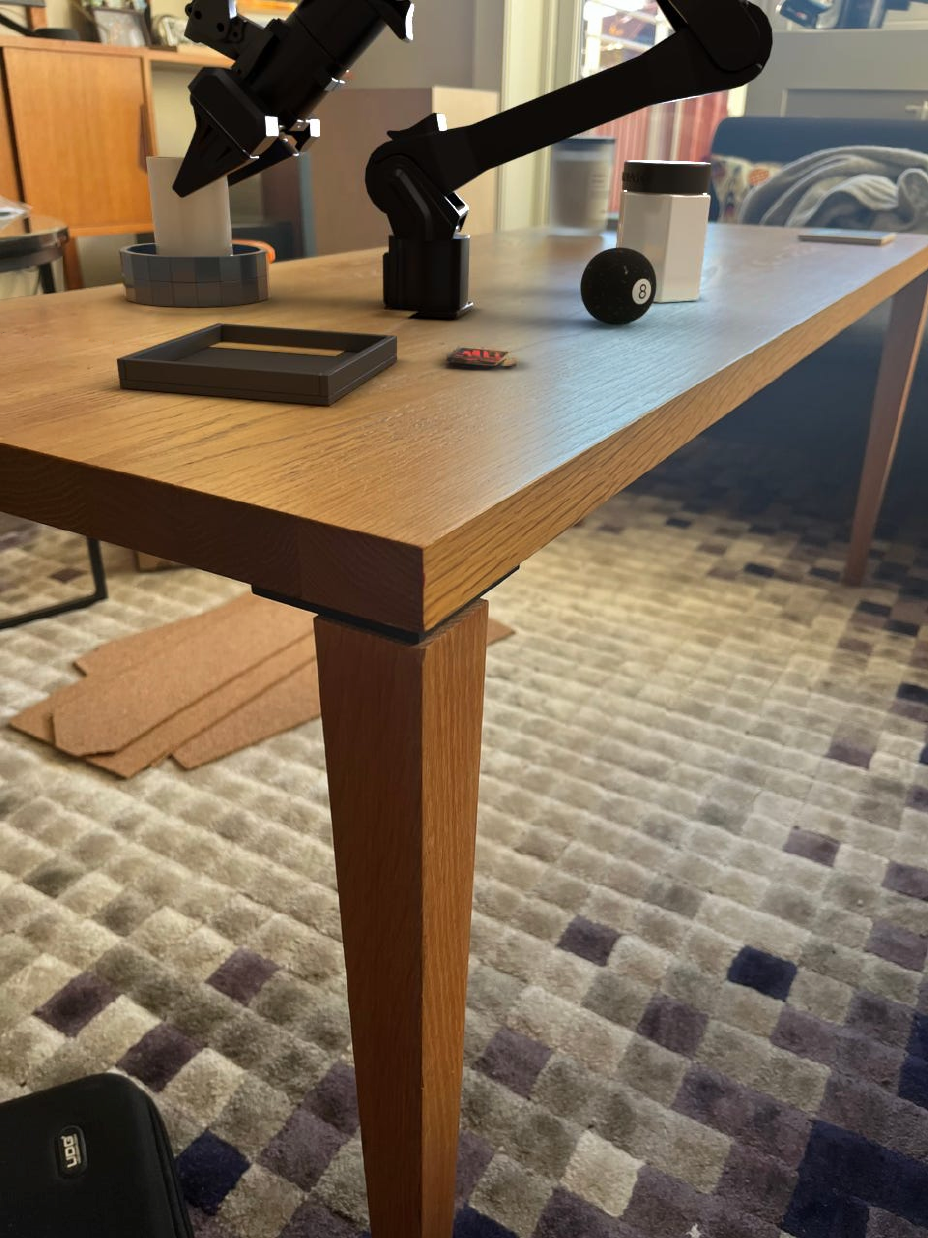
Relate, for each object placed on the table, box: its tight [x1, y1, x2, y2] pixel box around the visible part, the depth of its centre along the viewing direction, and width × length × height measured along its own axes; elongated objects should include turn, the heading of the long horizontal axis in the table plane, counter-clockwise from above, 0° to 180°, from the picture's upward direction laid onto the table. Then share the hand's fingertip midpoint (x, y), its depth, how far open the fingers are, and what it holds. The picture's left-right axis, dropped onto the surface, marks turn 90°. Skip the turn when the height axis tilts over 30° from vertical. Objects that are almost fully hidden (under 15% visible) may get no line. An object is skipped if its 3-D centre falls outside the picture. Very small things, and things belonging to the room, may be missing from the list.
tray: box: [116, 322, 398, 407], centre depth 63 cm, size 13×13×2 cm
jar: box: [615, 160, 713, 304], centre depth 96 cm, size 9×8×12 cm
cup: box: [145, 155, 233, 256], centre depth 85 cm, size 6×6×11 cm
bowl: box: [118, 242, 271, 308], centre depth 86 cm, size 12×12×4 cm
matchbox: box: [446, 346, 518, 368], centre depth 68 cm, size 5×5×1 cm
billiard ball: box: [579, 247, 657, 326], centre depth 81 cm, size 6×6×6 cm
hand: (196, 190), depth 83 cm, fingers open, 9 cm apart
